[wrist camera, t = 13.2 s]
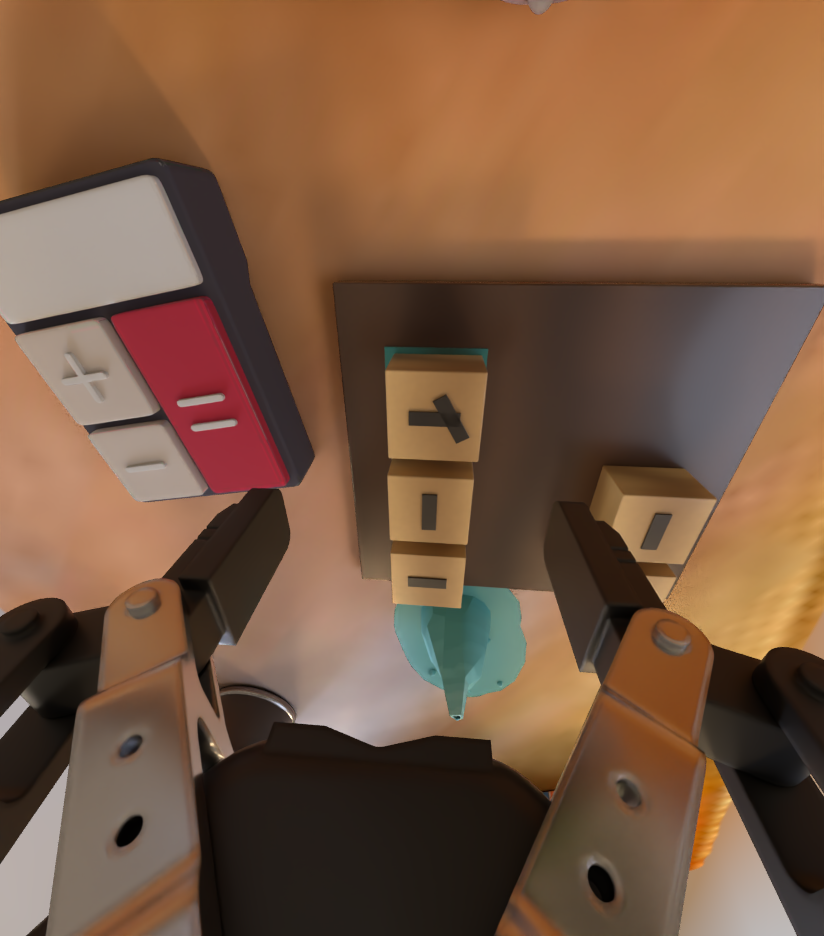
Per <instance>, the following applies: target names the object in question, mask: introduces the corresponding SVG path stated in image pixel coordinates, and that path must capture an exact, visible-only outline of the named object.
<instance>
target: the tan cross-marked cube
mask: <svg viewBox="0 0 824 936" xmlns="http://www.w3.org/2000/svg"><path fill="white" fill-rule="evenodd" d="M487 377H488V373H487V369H486V366H485V363H484V360H483V356H481V355H440V354H394V355H393V357H392V358H391V360H390V362H389V364H388V366H387V368H386V370H385V383H386V409H387V435H388V457H389V458H396V459H419V460H443V461H466V462H478V460H479V452H480V442H481V433H482V423H483V414H484V405H485V395H486V386H487Z"/></svg>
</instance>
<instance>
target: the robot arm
mask: <svg viewBox="0 0 824 936" xmlns="http://www.w3.org/2000/svg"><path fill="white" fill-rule="evenodd" d="M289 541H290V527H289V523H288V518H287V514H286V509H285V505H284V500H283V496H282V493H281V491H280V490H279V489H271V488H252V489H250V490H249V491H248V493H247V494H246V495H245V496H244V497H243V499H242V500H241V501H240V502H239V503H238V504H232V505H231V506H229V507H228V508H226V509H225V510H223V511H221V512H220V513H218V514H217V515H216V516H215V518H214V519H213V520H212V521H211V522H210V523H209V524H208V526H207V529H204V530H203V531H202V532H201V534H200V535H199V536H198V539H197V540H196V539H195V540H194V542H193V543H192V544H191V545H190V546H189V547H188V548H187V550H186V551H185V552H184V553H183V554H182V555H181V556H180V558H179V559H178V560H177V561H176V562H175V563H174V565H173V566H172V567H171V568H170V569H169V570H168V571H167V573H166V574H165V575H164V576H163V577H162V578H160V579H153V580H148V581H145V582H142V583H140V584H137V585H135V586H133V587H131V588H130V589H128V590H126V591H125V592H123V593H122V594H121V595H119V596H118V597H117V598H116V599H115V600H114V601H113V602H112V603H111V604H110V606H107V607H102V608H97V609H91V610H86V611H81V612H76V613H72V612H71V610H70V609H69V607H68V606H67V605H66V603H65V602H64V601H63V600H61V599H58V598H44V599H39V600H35V601H32V602H29V603H26V604H23V605H21V606H19V607H17V608H15V609H13V610H11V611H9V612H7V613H6V614H4V615H2V616H1V617H0V717H1V716H2V715H3V714H4V712H5V711H6V710H7V709H8V708H9V707H10V706H11V705H12V704H13V702H14V701H15V700H16V699H17V698H18V697H19V696H20V695H21V696H22V697H23V698H24V699H25V700H26V701H27V702H28V703H29V704H30V706H29V707H28V708H27V709H26V710H25V711H24V713H23V714H22V715H21V716H20V717H19V718H18V720H17V721H16V722H15V723H14V724H13V725H12V726H11V728H10V729H9V730H8V731H7V732H6V733H5V735H4V736H3V737H2V738H1V739H0V864H1V862H2V861H3V859H4V858H5V856H6V855H7V853H8V852H9V850H10V849H11V848H12V846H13V845H14V843H15V842H16V840H17V839H18V837H19V836H20V834H21V833H22V832H23V830H24V829H25V827H26V826H27V824H28V822H29V821H30V820H31V818H32V817H33V815H34V814H35V813H36V811H37V810H38V808H39V807H40V805H41V804H42V802H43V801H44V799H45V798H46V797H47V795H48V794H49V792H50V791H51V789H52V788H53V786H54V785H55V783H56V782H57V780H58V779H59V778H60V776H61V775H62V773H63V772H64V770H65V769H66V767H67V766H68V764H69V770H68V777H67V786H66V792H65V799H64V808H63V814H62V822H61V829H60V836H59V844H58V852H57V858H56V865H55V873H54V880H53V887H52V895H51V902H50V909H49V915H48V916H47V917H46V918H45V919H44V920H43V921H42V922H41V923H40V924H38V925H37V926H36V927H35V928H34V929H33V930H32V931H31V932H30V933H29V934H28V935H26V936H678V934H679V927H680V922H681V916H682V910H683V903H684V898H685V891H686V886H687V879H688V873H689V867H690V861H691V855H692V849H693V843H694V837H695V831H696V825H697V819H698V813H699V807H700V801H701V795H702V789H703V783H704V777H705V770H706V757H708V758H710V759H713V760H714V762H715V765H716V767H717V769H718V771H719V773H720V775H721V777H722V779H723V781H724V783H725V785H726V788H727V790H728V792H729V794H730V796H731V798H732V800H733V802H734V804H735V806H736V809H737V810H738V813H739V815H740V817H741V819H742V821H743V823H744V825H745V827H746V830H747V831H748V834H749V836H750V838H751V840H752V842H753V844H754V846H755V848H756V850H757V852H758V855H759V857H760V858H761V861H762V863H763V865H764V867H765V869H766V871H767V874H768V876H769V878H770V880H771V882H772V884H773V886H774V888H775V890H776V892H777V895H778V896H779V899H780V901H781V903H782V905H783V907H784V909H785V911H786V913H787V915H788V917H789V920H790V922H791V923H792V926H793V928H794V930H795V932H796V934H797V936H824V796H823V795H822V793H821V792H820V790H819V789H818V787H817V785H816V784H815V782H814V781H813V779H812V778H811V776H810V774H811V775H812V776H813V778H814V779H815V781H816V782H817V784H818V785H819V787H820V788H821V790H822V791H823V793H824V660H823V659H821V658H819V657H817V656H815V655H813V654H810V653H807V652H805V651H802V650H799V649H795V648H789V647H778V648H774V649H771V650H770V651H769V652H768V653H767V654H766V656H765V657H764V658H763V659H762V660H758V659H755V658H752V657H749V656H746V655H743V654H739V653H736V652H733V651H730V650H727V649H723V648H720V647H717V646H715V645H712V644H710V642H709V640H708V639H707V637H706V636H705V635H704V634H703V633H702V632H701V631H700V630H699V629H698V628H697V627H696V626H695V625H694V624H692V623H691V622H690V621H688V620H687V619H685V618H683V617H681V616H680V615H678V614H675V613H673V612H671V611H668V610H667V609H666V608H665V606H664V604H663V603H662V601H661V599H660V598H659V596H658V595H657V593H656V591H655V590H654V588H653V587H652V585H651V583H650V582H649V580H648V579H647V577H646V575H645V574H644V572H643V570H642V569H641V567H640V566H639V564H638V563H636V559H635V558H634V556H633V554H632V553H631V551H629V550H628V546H627V545H626V543H625V542H624V540H623V538H622V537H621V535H620V534H619V533H618V532H617V531H616V530H615V529H613V528H612V527H611V526H610V525H609V524H607V523H606V522H605V521H598V520H595V519H594V517H593V515H592V514H591V512H590V510H589V508H588V507H587V505H586V504H585V503H584V502H571V501H555V502H554V504H553V507H552V511H551V515H550V519H549V524H548V528H547V532H546V536H545V541H544V550H543V552H544V561H545V565H546V569H547V572H548V575H549V578H550V581H551V584H552V587H553V590H554V593H555V597H556V600H557V603H558V606H559V609H560V612H561V615H562V618H563V621H564V625H565V628H566V631H567V634H568V637H569V640H570V643H571V646H572V650H573V653H574V656H575V659H576V662H577V665H578V668H579V671H580V672H588V673H597V675H598V678H599V681H600V684H601V686H600V689H599V691H598V693H597V695H596V698H595V700H594V702H593V704H592V707H591V709H590V711H589V714H588V716H587V718H586V720H585V723H584V725H583V727H582V729H581V732H580V734H579V736H578V739H577V741H576V743H575V745H574V748H573V750H572V752H571V754H570V757H569V759H568V761H567V763H566V766H565V768H564V770H563V772H562V775H561V777H560V779H559V781H558V784H557V786H556V788H555V790H554V793H553V795H552V797H551V799H550V800H549V799H548V798H547V797H546V796H545V795H544V794H543V792H542V791H540V790H539V789H538V788H537V787H536V786H535V785H534V784H533V783H532V782H531V781H529V780H528V779H527V778H526V777H524V776H523V775H521V774H520V773H519V772H517V771H516V770H514V769H513V768H511V767H509V766H507V765H506V764H504V763H502V762H500V761H497V760H495V759H492V750H491V740H482V739H470V738H459V737H447V736H431V737H426V738H422V739H417V740H412V741H408V742H403V743H398V744H394V745H389V746H385V747H375V746H372V745H369V744H367V743H365V742H362V741H360V740H358V739H355V738H353V737H350V736H348V735H346V734H343V733H341V732H339V731H336V730H334V729H331V728H329V727H327V726H320V725H308V724H297V723H295V720H296V714H295V711H294V710H293V708H292V707H291V706H290V705H289V704H288V703H287V702H286V701H284V700H283V699H281V698H280V697H278V696H276V695H274V694H272V693H269V692H267V691H264V690H261V689H257V688H252V687H245V686H232V687H226V688H223V689H220V690H219V687H218V681H217V676H216V670H215V665H214V661H213V658H212V654H213V652H214V650H215V649H216V647H217V645H218V644H221V645H235V646H236V644H237V642H238V640H239V638H240V637H241V635H242V633H243V631H244V629H245V627H246V625H247V623H248V622H249V620H250V618H251V616H252V614H253V612H254V610H255V608H256V607H257V605H258V603H259V601H260V599H261V597H262V595H263V593H264V592H265V590H266V588H267V586H268V584H269V582H270V580H271V579H272V577H273V575H274V573H275V571H276V569H277V567H278V565H279V564H280V562H281V560H282V558H283V556H284V554H285V552H286V550H287V548H288V545H289Z"/></svg>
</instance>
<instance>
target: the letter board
mask: <svg viewBox="0 0 824 936" xmlns="http://www.w3.org/2000/svg"><path fill="white" fill-rule="evenodd" d="M333 292H334V302H335V312H336V322H337V332H338V342H339V352H340V362H341V372H342V382H343V392H344V402H345V412H346V422H347V432H348V442H349V452H350V462H351V472H352V482H353V492H354V502H355V512H356V522H357V532H358V542H359V552H360V562H361V572H362V579H374V580H388V581H392V603H394V604H408V605H421V606H435V607H449V608H461V602H462V593H463V586H477V587H492V588H507V589H522V590H536V591H551V592H554V590H553V587H552V584H551V581H550V578H549V575H548V572H547V569H546V565H545V561H544V552H543V550H544V541H545V536H546V532H547V528H548V524H549V519H550V515H551V511H552V507H553V504H554V502H555V501H571V502H584V503H585V504H586V505H587V507H588V508H589V510H590V512H591V514H592V515H593V517H594V519H595V520H598V521H605V522H606V523H607V524H609V525H610V526H611V527H612V528H613V529H615V530H616V531H617V532H618V533H619V534H620V535H621V537H622V538H623V540H624V542H625V543H626V545H627V546H628V550H629V551H631V553H632V554H633V556H634V558H635V559H636V563H638V564H639V566H640V567H641V569H642V570H643V572H644V574H645V575H646V577H647V579H648V580H649V582H650V583H651V585H652V587H653V588H654V590H655V591H656V593H657V595H658V596H659V598H660V599H661V601H662V603H664V601H665V599H668V598H669V596H670V594H671V592H672V590H673V588H674V586H675V584H676V583H677V581H678V579H679V577H680V575H681V573H682V571H683V569H684V567H685V566H686V564H687V562H688V560H689V558H690V556H691V554H692V552H693V551H694V549H695V547H696V545H697V543H698V541H699V539H700V537H701V536H702V534H703V532H704V530H705V528H706V526H707V524H708V522H709V520H710V519H711V517H712V515H713V513H714V511H715V509H716V507H717V505H718V504H719V502H720V500H721V498H722V496H723V494H724V492H725V490H726V488H727V487H728V485H729V483H730V481H731V479H732V477H733V475H734V473H735V472H736V470H737V468H738V466H739V464H740V462H741V460H742V458H743V457H744V455H745V453H746V451H747V449H748V447H749V445H750V443H751V441H752V440H753V438H754V436H755V434H756V432H757V430H758V428H759V426H760V425H761V423H762V421H763V419H764V417H765V415H766V413H767V411H768V409H769V408H770V406H771V404H772V402H773V400H774V398H775V396H776V394H777V393H778V391H779V389H780V387H781V385H782V383H783V381H784V379H785V378H786V376H787V374H788V372H789V370H790V368H791V366H792V364H793V362H794V361H795V359H796V357H797V355H798V353H799V351H800V349H801V347H802V346H803V344H804V342H805V340H806V338H807V336H808V334H809V332H810V331H811V329H812V327H813V325H814V323H815V321H816V319H817V317H818V315H819V314H820V312H821V310H822V308H823V306H824V285H820V284H741V283H586V282H430V281H337V282H334V283H333ZM394 354H440V355H481V356H483V360H484V363H485V366H486V369H487V373H488V377H487V386H486V395H485V405H484V414H483V423H482V433H481V442H480V452H479V460H478V462H466V461H443V460H419V459H396V458H389V457H388V435H387V409H386V383H385V370H386V368H387V366H388V364H389V362H390V360H391V358H392V357H393V355H394Z"/></svg>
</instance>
